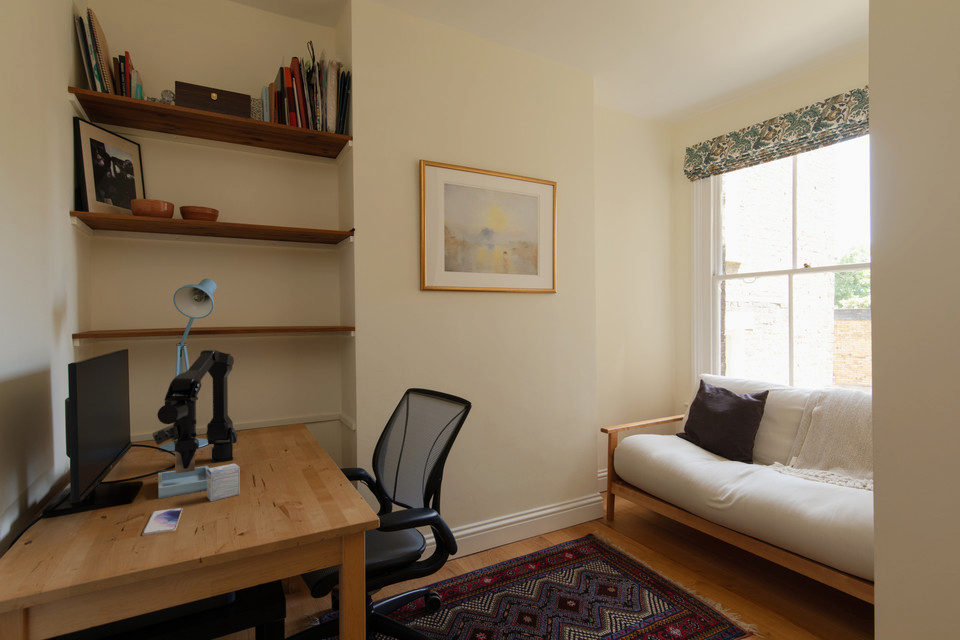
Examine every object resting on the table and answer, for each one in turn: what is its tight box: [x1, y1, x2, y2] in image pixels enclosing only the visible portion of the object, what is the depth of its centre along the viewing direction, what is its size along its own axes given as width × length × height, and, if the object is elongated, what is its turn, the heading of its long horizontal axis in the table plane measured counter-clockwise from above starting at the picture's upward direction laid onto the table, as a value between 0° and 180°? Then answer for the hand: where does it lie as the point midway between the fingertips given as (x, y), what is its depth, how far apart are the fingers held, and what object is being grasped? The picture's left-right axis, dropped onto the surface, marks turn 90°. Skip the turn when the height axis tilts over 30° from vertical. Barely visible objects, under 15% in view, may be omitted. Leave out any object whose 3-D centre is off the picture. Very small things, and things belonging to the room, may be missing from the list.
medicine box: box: [206, 463, 241, 502], centre depth 142 cm, size 8×4×9 cm, turn 134°
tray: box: [157, 465, 210, 499], centre depth 150 cm, size 14×16×3 cm
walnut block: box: [174, 450, 196, 474], centre depth 150 cm, size 5×5×6 cm
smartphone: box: [141, 507, 184, 537], centre depth 125 cm, size 7×1×15 cm
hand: (185, 466), depth 150 cm, fingers closed on walnut block, 5 cm apart
